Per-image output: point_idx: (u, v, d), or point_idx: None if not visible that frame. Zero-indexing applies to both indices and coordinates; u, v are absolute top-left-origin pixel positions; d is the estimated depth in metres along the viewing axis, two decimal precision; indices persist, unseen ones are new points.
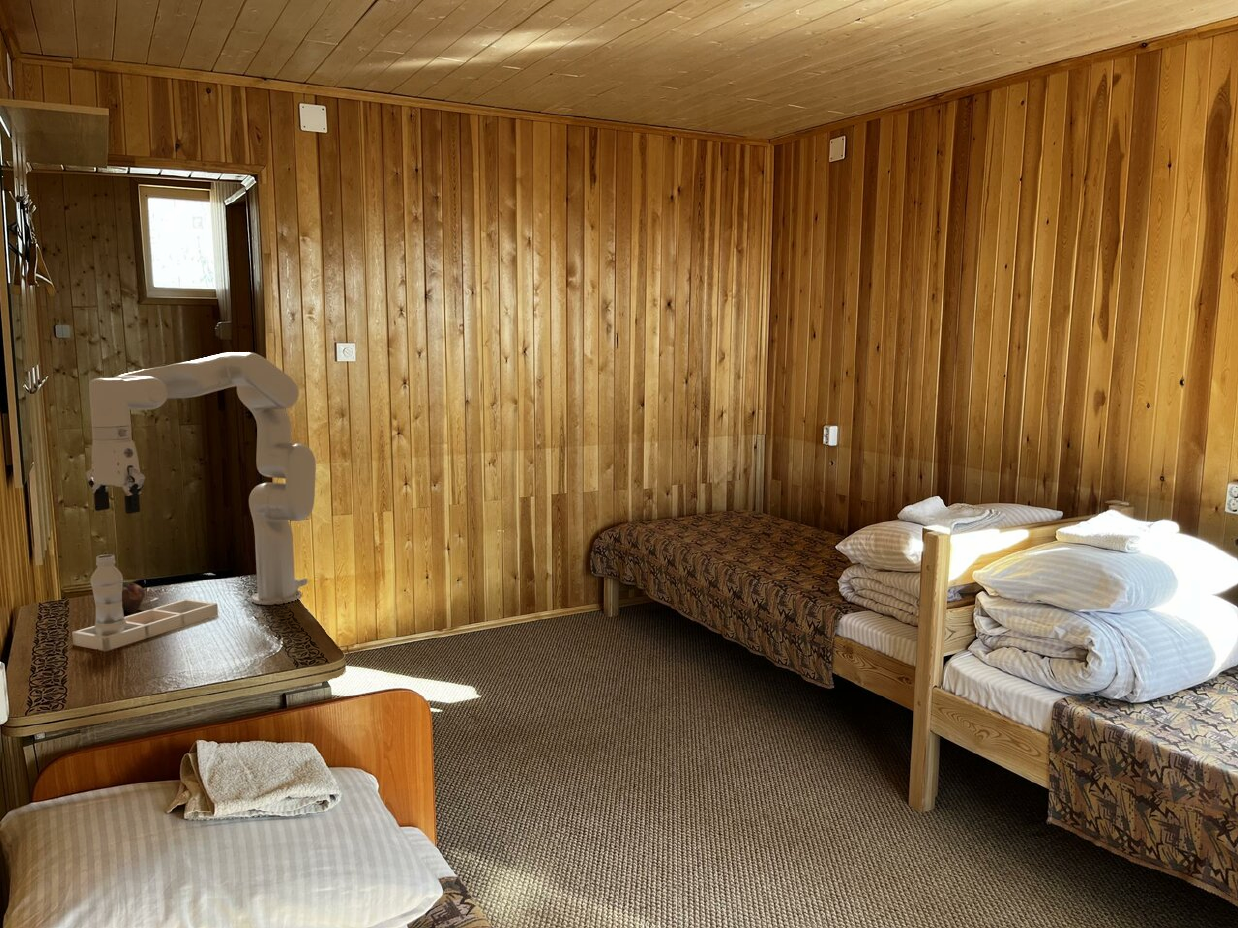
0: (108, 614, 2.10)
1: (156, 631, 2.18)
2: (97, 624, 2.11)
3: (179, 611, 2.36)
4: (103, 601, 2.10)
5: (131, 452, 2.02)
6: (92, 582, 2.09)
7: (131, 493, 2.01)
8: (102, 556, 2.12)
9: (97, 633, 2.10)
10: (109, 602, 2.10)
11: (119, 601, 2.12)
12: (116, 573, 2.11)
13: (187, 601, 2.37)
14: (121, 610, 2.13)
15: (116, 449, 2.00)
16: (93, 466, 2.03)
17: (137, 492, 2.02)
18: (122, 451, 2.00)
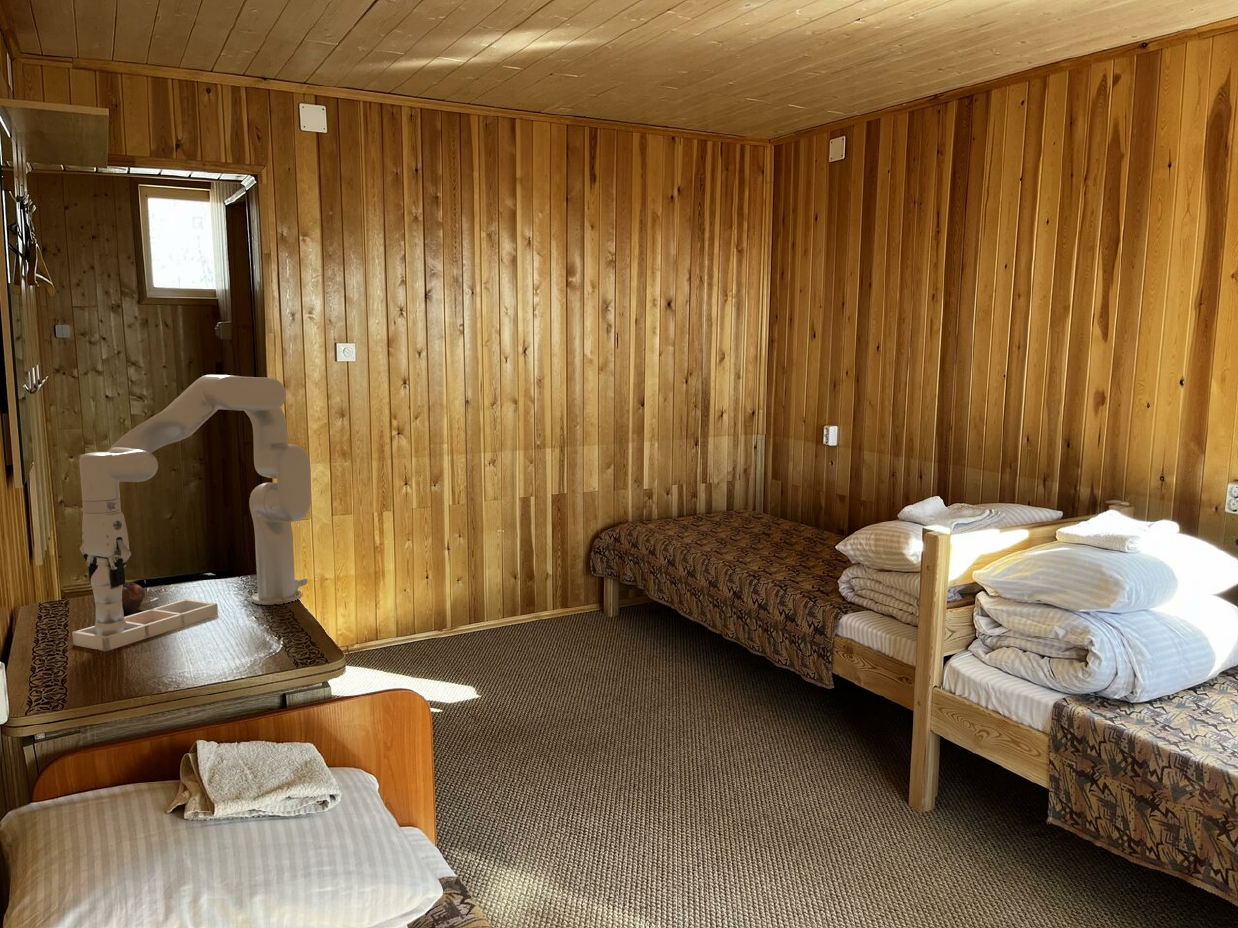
0: (108, 614, 2.10)
1: (156, 631, 2.18)
2: (97, 624, 2.11)
3: (179, 611, 2.36)
4: (103, 601, 2.10)
5: (120, 524, 2.09)
6: (92, 582, 2.09)
7: (116, 567, 2.08)
8: None
9: (97, 633, 2.10)
10: (110, 602, 2.10)
11: (119, 601, 2.12)
12: None
13: (187, 601, 2.37)
14: (121, 610, 2.13)
15: (105, 522, 2.07)
16: (83, 537, 2.10)
17: (122, 566, 2.10)
18: (111, 524, 2.07)
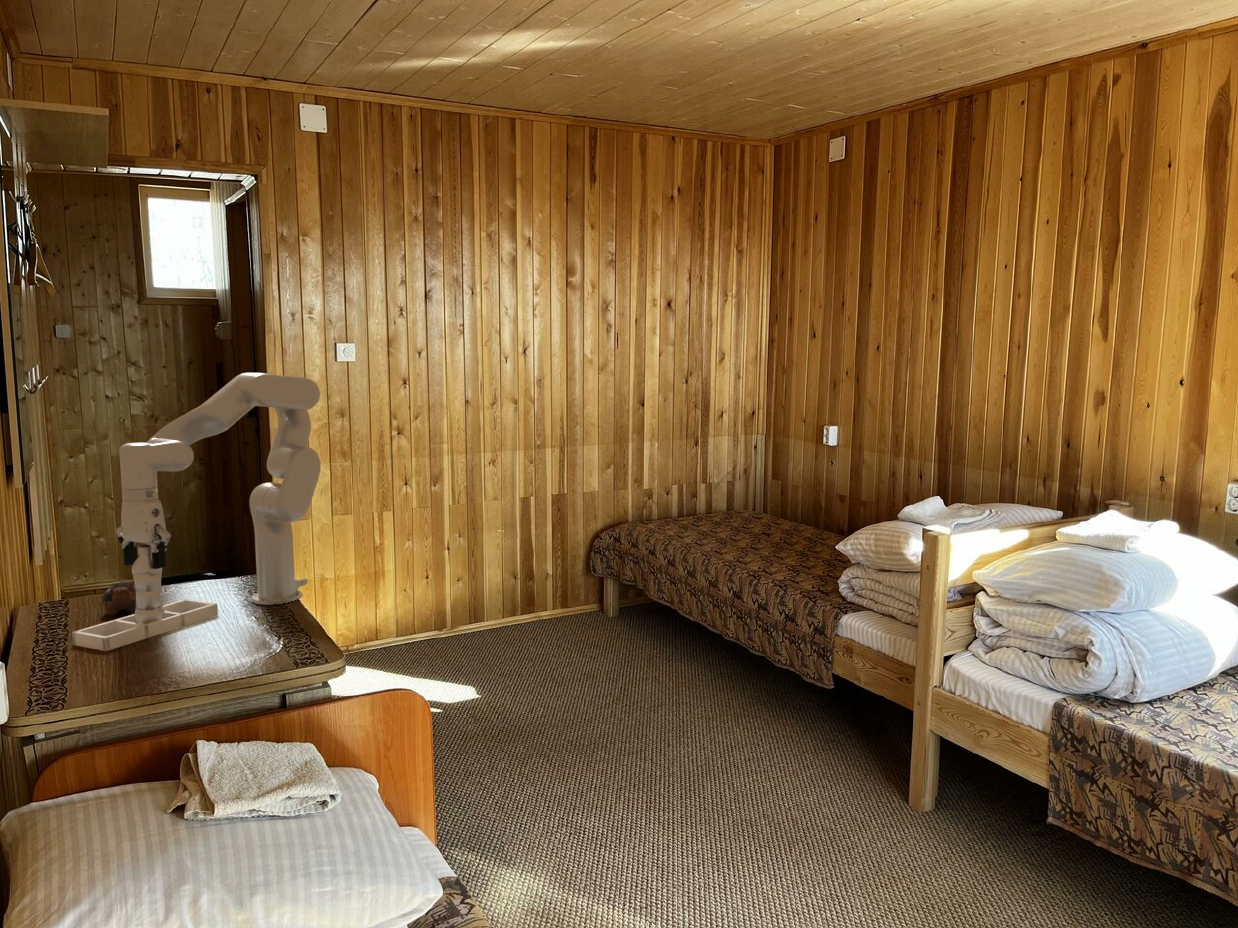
0: (147, 601, 2.20)
1: (156, 631, 2.18)
2: (137, 611, 2.20)
3: (179, 611, 2.36)
4: (143, 588, 2.19)
5: (158, 511, 2.18)
6: (133, 570, 2.19)
7: (158, 550, 2.17)
8: (143, 546, 2.22)
9: (137, 619, 2.20)
10: (149, 590, 2.20)
11: (158, 589, 2.21)
12: None
13: (187, 601, 2.37)
14: (160, 598, 2.22)
15: (144, 509, 2.16)
16: (123, 524, 2.19)
17: (163, 549, 2.18)
18: (150, 511, 2.16)
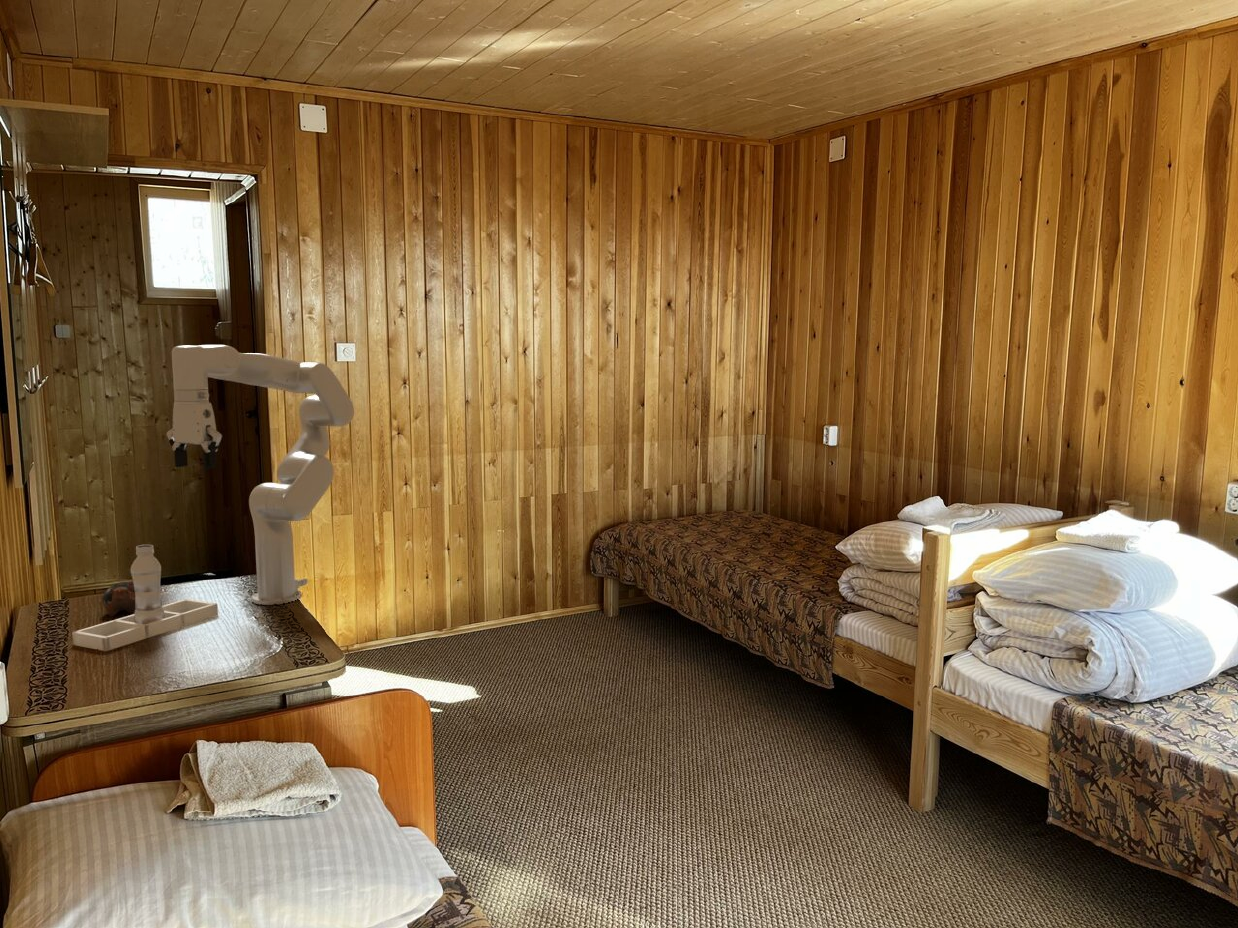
0: (147, 601, 2.20)
1: (156, 631, 2.18)
2: (137, 611, 2.20)
3: (179, 611, 2.36)
4: (142, 589, 2.19)
5: (209, 413, 2.23)
6: (132, 571, 2.18)
7: (209, 450, 2.21)
8: (141, 546, 2.21)
9: (137, 620, 2.20)
10: (149, 590, 2.20)
11: (158, 589, 2.21)
12: (155, 562, 2.20)
13: (187, 601, 2.37)
14: (159, 598, 2.22)
15: (196, 410, 2.20)
16: (174, 426, 2.24)
17: (214, 449, 2.22)
18: (201, 412, 2.21)
